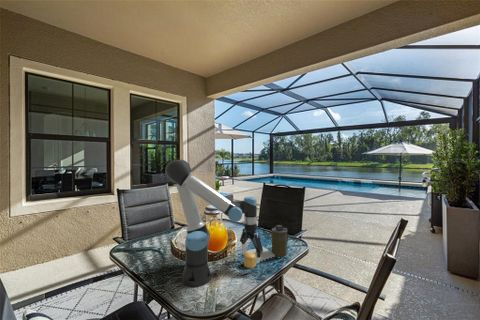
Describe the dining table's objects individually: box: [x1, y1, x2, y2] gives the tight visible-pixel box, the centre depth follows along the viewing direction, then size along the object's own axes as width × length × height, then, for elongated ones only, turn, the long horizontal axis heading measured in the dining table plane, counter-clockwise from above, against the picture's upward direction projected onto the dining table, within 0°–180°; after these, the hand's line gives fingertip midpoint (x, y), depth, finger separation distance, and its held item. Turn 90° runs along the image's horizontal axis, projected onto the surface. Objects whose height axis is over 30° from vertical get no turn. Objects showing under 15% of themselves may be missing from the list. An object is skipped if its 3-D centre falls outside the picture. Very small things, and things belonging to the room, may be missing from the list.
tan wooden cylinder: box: [243, 253, 257, 269], centre depth 133 cm, size 7×7×6 cm
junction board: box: [247, 246, 275, 262], centre depth 146 cm, size 16×14×6 cm
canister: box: [271, 224, 289, 258], centre depth 148 cm, size 11×10×20 cm
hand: (250, 258), depth 133 cm, fingers open, 13 cm apart
